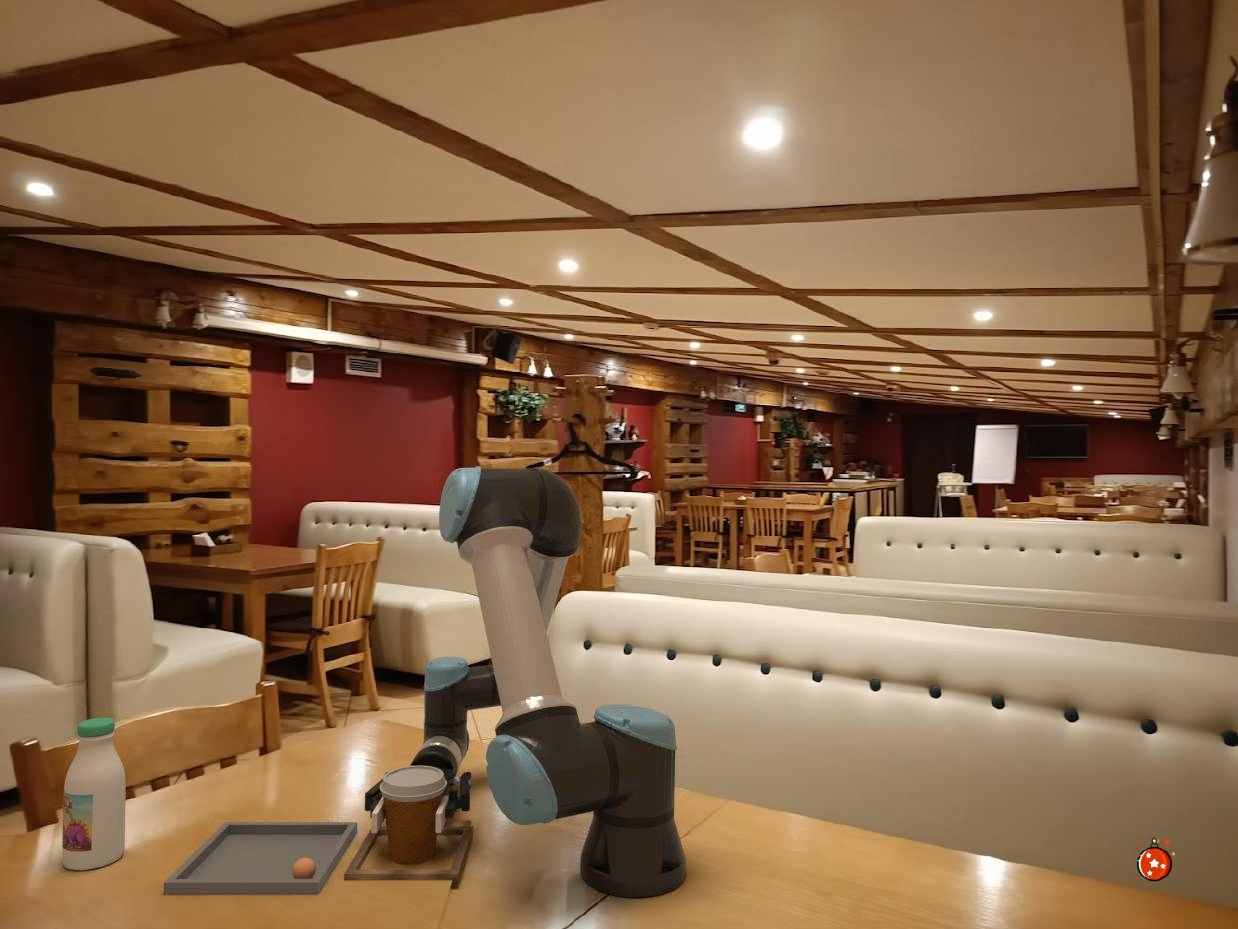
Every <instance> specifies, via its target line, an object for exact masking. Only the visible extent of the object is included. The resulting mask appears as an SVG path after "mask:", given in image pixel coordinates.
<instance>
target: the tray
mask: <svg viewBox="0 0 1238 929" xmlns="http://www.w3.org/2000/svg"><path fill="white" fill-rule="evenodd" d="M357 833H358V821H349V822H348V821H339V822H338V821H337V822H336V821H225V822H224V823H223V824H222V825H221V826H220V827H219V828H217V830H216V831H215V832H213V833H212V835H211V836H209V838H208V839H207V840H206V841H205V842H203V844H201V846H199V848H197V849H196V851H194V852H193V853H192V854H191V855H190V857H188V858H187V859H186V860H185V861H184V862H183V863H182V864H181V865H180V866H179V867H178V868H177V869H176V870H175V871H174V872H173V873H172V874H171V875H170V876H169V877H168V878H167V879H166V880H165V881H164V882H163V895H171V896H172V895H176V896H177V895H180V896H181V895H319V894H320V892H321V890H322V889H323V888H324V886H325V884H326V883H327V881H328V879H329V878H330V876H331V875H332V873H333V871H334V870H335V868H336V866H338V864H339V862H340V860H341V859H342V857H343V856H344V854H345V853H346V851H347V849H348V848H349V846H350V845H351V843H352V841H353V840H354V838H355V837H356V835H357ZM302 858H310V859H312V860H313V861H314V863H315V865H316V871H315V874H314V876H313V877H312V878H311V879H295V878H294V877H293V874H292V870H293V866H294V864H295V863H296V862H297V861H298V860H300V859H302Z"/></svg>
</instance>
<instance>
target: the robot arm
mask: <svg viewBox="0 0 1238 929" xmlns="http://www.w3.org/2000/svg"><path fill="white" fill-rule="evenodd" d="M440 496H441V498H440V501H439V502H440V503H439V512H438V524H439V525H438V526H439V527H438V528H439V533H440V536H441V537H442V540H443V541H445V542H447V543H450V544H454V543H456V544H457V545H456V546H457V550H458V555H459V557H460V559H462V560H463V561H464V562H466V563H468V564H470V565H471V567H472V568H471V569H472V573H473V578H474V583H475V588H476V591H477V597H478V601H479V606H480V607H479V608H480V612H481V616H482V620H483V626H484V629H485V630H484V631H485V635H486V639H487V645H488V649H489V650H488V651H489V653H490V658H491V663H492V664H488V665H487V664H486V665H481V666H471V667H469V662H468V660H466V659H465V658H464V657H460V656H442V657H436V658H433V659H431V660H429V661H428V663H427V664H426V666H425V672H424V685H423V690H424V691H423V692H424V695H423V696H424V698H423V700H424V704H423V706H424V717H423V718H424V720H423V721H424V722H423V743H422V745H421V747H420V748H419V749H418V751H417V753H416V754H415V756H414V758H413V760H412V762H411V763H410V765H409V766H431V767H435V768H438V769H440V770H442V771H443V773H444V778H445V779H446V781H447V785H446V787H445V790H444V792H443V797H442V801H441V803H440V805H439V808H438V810H437V812H436V832H435V833H441V831H442V829H443V826H445V823H446V821H447V819H449V820H450V819H453V818H454V817H455V815H456V813H457V812H458V810H461V811H462V812H469V811H470V810H471V809H470V808H471V805H470V804H471V803H470V802H471V791H470V790H471V789H472V772H470V771H465V772H463V773H462V774H459V775H457V774H458V771H459V770H460V768H461V764H462V762H463V760H464V758H465V757H466V755H467V752H468V751H469V746H470V734H469V733H470V732H469V730H468V726H467V725H468V711H473V710H480V709H481V710H482V709H487V708H488V709H489V708H495V707H501V713H502V715H501V718H500V719H499V720H498V722H497V723H496V725H495V726H494V731H495V732H494V733H495V737H494V738H493V739H492V740H490V742H489V743H488V745H487V749H486V752H485V753H486V754H485V761H486V763H487V765H486V767H485V768H486V776H487V781H488V785H489V788H490V790H491V794H492V796H493V799H494V801H495V803H496V805H497V807H498V809H499V810H500V811H501V812H502V814H503V815H504V816H505V817H506V818H507V819H508V820H509V821H510V822H512V823H514V824H516V825H520V826H527V825H528V826H530V825H534V824H550V823H551V822H553V821H555V820H559V819H562V818H563V819H564V818H568V817H572V816H577V815H582V814H587V813H591V812H593V814H592V820H591V823H590V826H589V829H588V832H587V835H586V837H585V841H584V844H583V846H582V849H581V853H580V859H579V860H580V861H579V862H580V864H579V865H580V866H579V867H580V868H579V872H580V876H581V878H582V880H583V881H584V882H585V883H586V884H587V885H588V886H590V887H591V888H593V889H595V890H597V891H600V892H601V893H605V894H608V895H612V896H617V897H623V898H624V897H625V898H648V897H653V896H659V895H663V894H666V893H668V892H670V891H673V890H675V889H676V888H678V887H679V886H681V884H682V883H684V880H685V878H686V867H687V866H686V865H687V864H686V862H687V859H686V854H685V851H684V848H683V844H682V840H681V838H680V833H679V831H678V828H677V827H678V826H677V823H676V820H675V797H676V796H675V793H676V792H675V790H676V789H675V788H676V751H677V748H678V745H677V740H676V727H675V724H674V721H673V720H672V719H671V717H669V716H668V715H667V714H664V712H663V713H662V712H660V711H658V710H655V709H652V708H648V707H643V706H639V705H630V704H621V703H620V704H616V703H614V704H613V703H611V704H602V705H600V706H598V707H597V708H596V709H595V710H594V711H595V712H594V714H593V719H594V721H590V722H582V723H581V722H580V718H579V714H578V710H577V708H576V706H575V705H574V704H573V703H571V702H569V701H568V700H566V699H565V698H564V697H563V694H562V691H561V687H560V682H559V678H558V674H557V670H556V666H555V663H554V658H553V654H552V650H551V645H550V642H549V638H548V631H549V627H550V623H551V620H552V617H553V613H554V610H555V606H556V603H557V599H558V595H559V591H560V588H561V585H562V582H563V580H564V579H563V578H564V575H565V572H566V568H567V564H568V561H569V558H571V557H573V556H574V555H575V554H576V553H577V551H578V548H579V544H580V541H581V536H582V528H583V524H582V523H583V522H582V512H581V511H582V510H581V508H580V504H579V502H578V501H579V500H578V499H577V497H576V494H575V492H574V491H573V489H572V487H571V486H570V484H568V482H566V480H565V479H564V478H563V477H561V476H560V475H558V474H556V473H554V472H553V471H552V470H549V469H545V468H542V467H539V468H538V467H529V468H526V467H524V468H523V467H520V468H519V467H516V468H514V467H510V468H509V467H505V468H504V467H481V466H475V467H460V468H457V469H454V470H453V471H452V472H451V473H450V474H449V475H448V476H447V479H446V481H445V482H444V485H443V489H442V493H441V495H440ZM389 771H390V770H389ZM389 771H386V772H385V773H384V775H385V774H386V773H388V772H389ZM382 781H383V778H381V779H380V780H379V781H377V783H376V784H373V786H371V788H370V789H369V790H367V791H366V792H365V794H364V811H366V812H370V814H369V816H370V819H371V826H370V827H371V829H370V830H371V833H377V832H378V830H379V828H380V827H381V826H382V825H383V823H384V821H386V818H385V809H384V800H383V795H382V792H381V791H380V784H381V783H382ZM455 785H456V787H458V789H453V787H454V786H455ZM458 792H459V795H458Z"/></svg>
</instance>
